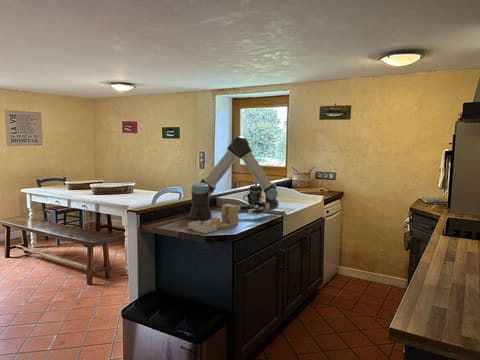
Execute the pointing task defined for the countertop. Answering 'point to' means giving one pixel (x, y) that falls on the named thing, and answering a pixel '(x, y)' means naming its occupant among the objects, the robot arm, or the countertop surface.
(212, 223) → the tile
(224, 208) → the block
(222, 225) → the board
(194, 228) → the beige rounded slab
